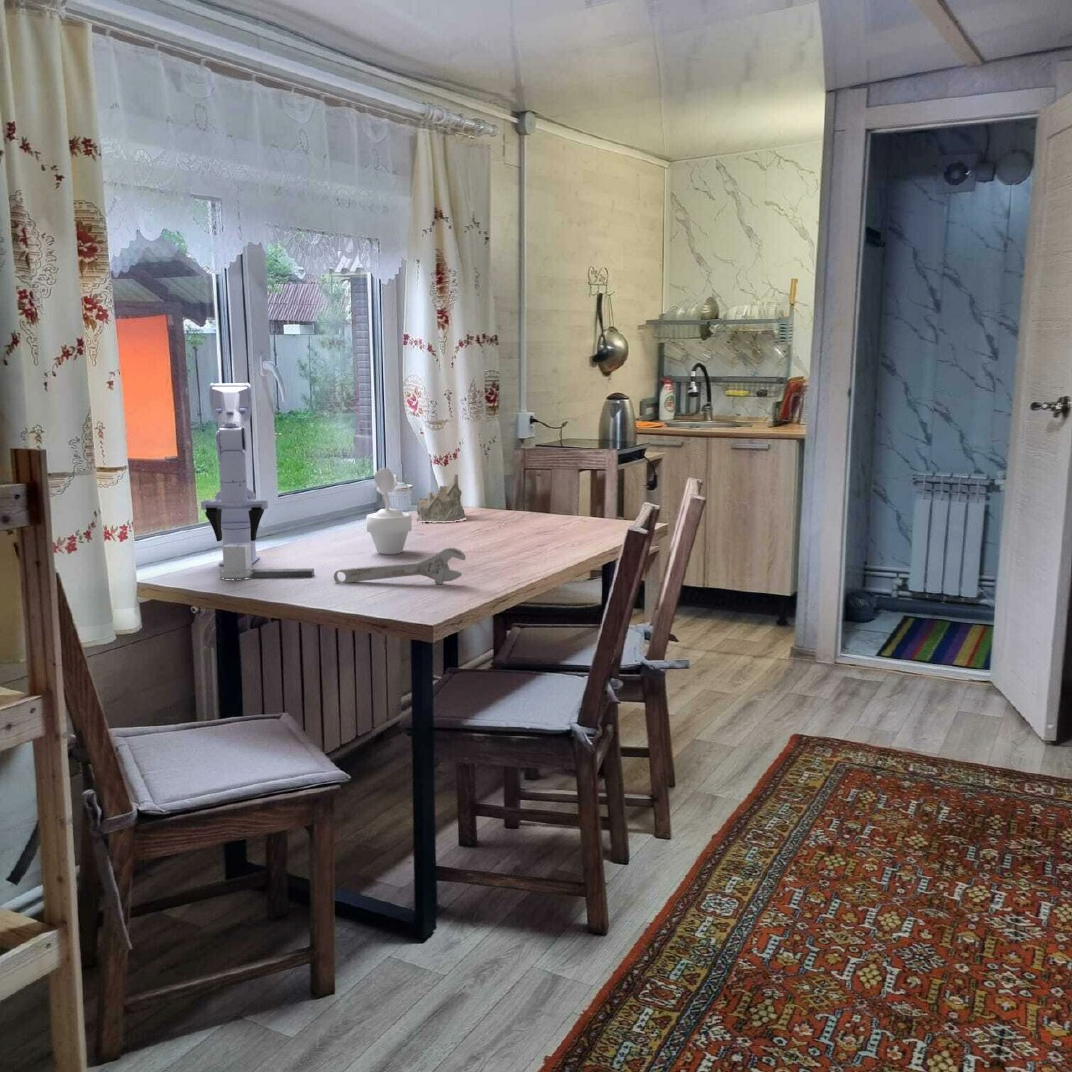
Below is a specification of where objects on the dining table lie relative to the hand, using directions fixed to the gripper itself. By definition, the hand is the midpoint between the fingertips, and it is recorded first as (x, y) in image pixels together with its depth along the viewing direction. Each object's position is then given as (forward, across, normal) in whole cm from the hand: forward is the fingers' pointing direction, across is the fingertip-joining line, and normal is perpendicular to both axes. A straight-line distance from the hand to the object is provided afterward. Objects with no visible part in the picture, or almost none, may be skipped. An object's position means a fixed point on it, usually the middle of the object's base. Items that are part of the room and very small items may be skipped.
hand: (236, 540), depth 230 cm
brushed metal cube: (+7, 0, 0) cm, 7 cm away
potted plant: (+9, +32, +29) cm, 44 cm away
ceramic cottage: (+9, +42, +85) cm, 95 cm away
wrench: (+9, +38, -9) cm, 40 cm away
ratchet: (+8, +6, 0) cm, 11 cm away
